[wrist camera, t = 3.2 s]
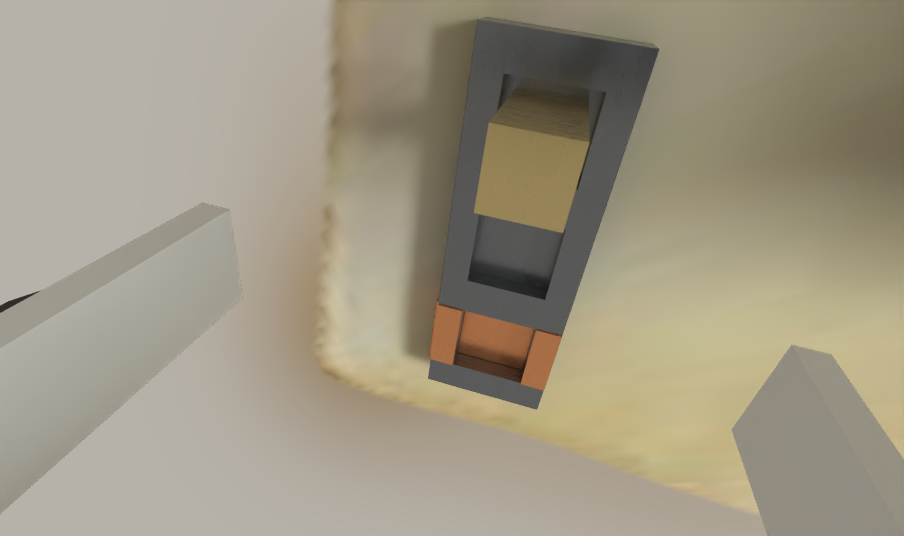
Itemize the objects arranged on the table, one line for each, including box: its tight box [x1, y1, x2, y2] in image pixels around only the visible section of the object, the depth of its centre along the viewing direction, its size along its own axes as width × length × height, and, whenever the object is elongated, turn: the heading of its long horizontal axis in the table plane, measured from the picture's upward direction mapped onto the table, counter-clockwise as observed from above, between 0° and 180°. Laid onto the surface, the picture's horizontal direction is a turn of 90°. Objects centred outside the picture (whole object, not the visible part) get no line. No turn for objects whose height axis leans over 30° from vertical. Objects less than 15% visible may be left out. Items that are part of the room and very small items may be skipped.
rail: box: [428, 17, 659, 409], centre depth 30 cm, size 26×9×3 cm, turn 173°
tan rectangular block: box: [474, 85, 590, 233], centre depth 23 cm, size 4×4×9 cm
